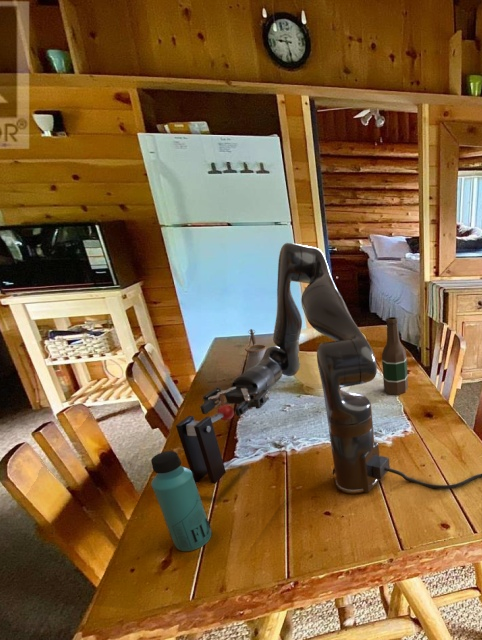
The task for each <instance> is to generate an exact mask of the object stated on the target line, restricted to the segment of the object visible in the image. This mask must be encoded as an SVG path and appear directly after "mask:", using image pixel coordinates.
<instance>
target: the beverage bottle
mask: <svg viewBox="0 0 482 640" xmlns="http://www.w3.org/2000/svg"><path fill="white" fill-rule="evenodd" d="M181 465H182V460H181V459H180V456H179V455H178V453H177V452H176V451H174V450H165V451H162V452H159V453H158V454H157V453H156V454H155V455H154V456H153V457H152V458H151V466H152V471H153V472H154V473H156V475H155V476H154V477H153V478H152V480H151V483H150V484H151V485H150V487H151V488H152V489H153V492H154V495H155V497H156V500H157V502H158V505H159V508H160V510H161V513H162V516H163V520H164V522H165V525H166V528H167V530H168V533H169V536H170V539H171V540H172V543H173V545H174V547H175V548H176V549H177V550H179V551H181V552H192V551H195V550H197V549H200V548H201V547H203V546H205V545H206V544H208V542H209V541H210V540H211V538H212V533H213V532H212V526H211V525H210V524H211V523H210V520H209V519H210V518H209V516H208V514H207V512H206V509H205V506H204V504H203V502H202V497H201V494H200V490H199V487H198V485H197V483H196V482H195V481H194V478H193V474H192V471H191V470H190V468H189V467H185V466H181Z"/></svg>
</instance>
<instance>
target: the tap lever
mask: <svg viewBox="0 0 482 640" xmlns="http://www.w3.org/2000/svg"><path fill="white" fill-rule="evenodd" d="M234 415H235V409H234V408H233V407H232V406H231V405H230V404H229V405H223V406H221V405H220V406H218V408H217V411H216V413H215V414H214V415H211V416H210V417H211V421H212V424H213V423H215V422H218V421H219V420H223V421H229V420H231V419H232V418H233V417H234ZM200 421H201V420H195V421H193V422H191V423H189V424H187V425H186V430H187V436H197V435H196V432H195V429H194V426H195V425H196V424H198V423H199V422H200Z"/></svg>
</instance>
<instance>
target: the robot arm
mask: <svg viewBox="0 0 482 640" xmlns="http://www.w3.org/2000/svg"><path fill="white" fill-rule="evenodd" d="M277 261H278V262H277V286H276V287H277V288H276V317H275V324H274V329H273V335H272V341H273V343H274V345H272V346H269V347H267V348H266V351H265V353H264V356H263V358H262V360H261V361H260V362H259V363H258V364H257V365H255V366H254V367H252V368H250V369H248V370H247V371H246V372H245V371H244V372H243V373H241V374H240V375H239V376H237V377H236V378H235V379H234V380H233V382H232V384H231V387H228V388H227V389H224V390H221V387H219V386H217V387H214V388H213V389H212V390H210V391H209V392H207V393H206V394H204V395H202V400H203V403H202V404H201V405H200V406H199V408H200V412H201V414H202V415H207V414H209V413H210V412H211V411H212V410H214V409H215V408H217V407H221V406H223V405H229V406H230V405H232V404H233V405H235V404H237V406H236V407H235V408H234V412H235V415H236V416H237V417H241V416H242V415H244V414H246V412H248V411H251V410H252V409H253V408H255V409H256V410H260V409H261V408H262V407H263V406H264V405H265V404H266V402H268V401H269V399H270V397H269V391H270V390H271V389H272V387H273V386H274V385H275V384H277V382H278V381H280V380H281V379H282V376H286V377H293V376H295V375H296V374H298V372H299V370H300V368H301V363H299V357H298V353H299V352H300V337H301V332H302V328H303V320H302V319H303V317H302V315H301V313H300V310H299V308H298V306H297V304H296V301H295V300H294V298H293V295H292V291H291V282H293V283H294V282H295V283H304V284H307V286H306V287H305V289H304V290H303V292H302V294H301V299H300V300H301V301H300V303H301V308H302V310H303V313H304V315H305V318H306V320H307V322H308V324H309V326H311V327H312V328H313V329H314V330H315V331H317V332H318V333H320V334H321V335H323V336H325V337H327V338H329V339H331V341H326V342H322V343H320V344H319V345H318V347H317V350H316V362H317V368H318V371H319V377H320V382H321V386H322V392H323V398H324V405H325V412H326V413H325V414H326V419H327V427H328V433H329V441H330V447H331V448H330V449H331V455H332V461H333V468H332V475H333V476H335V485H336V487H337V489H338V490H339V491H341V492H342V493H346V494H353V495H354V494H355V495H356V494H361V493H365V494H369V493H370V492H371V491H372V490H373V488H374V487H376V485H377V484H378V483H379V481H381V480H382V479H383V478H384V477H385V476H386V474H387V473H388V472H389V473H392V474H395V475H398V476H400V477H402V479H404V480H405V481H408V482H410V483H414V484H417V485H420V486H424V487H427V488H430V489H435V490H436V489H437V490H450V489H456V488H460V487H462V486H465V485H467V484H469V483H471V482H472V481H474V480H477V479H480V478H482V473H479V474H475V475H473V476H471V477H469V478H466V479H465V480H463V481H461V482H460V481H459V482H458V483H453V484H444V485H443V484H442V485H441V484H440V485H439V484H430V483H426V482H422V481H420V480H417V479H414V478H412V477H409V476H407V475H406V474H405V472H402V471H401V470H400V471H399V470H397V469H394V468H391V467H390V458H389V457H387V456H383V455H380V446H379V443H378V442H375V433H374V422H373V411H372V404H371V401H370V399H369V398H368V397H366V396H365V395H363V394H361V393H360V394H359V393H354V392H349V391H345V390H342V388H348V387H353V386H358V385H364V384H367V383H369V382H372V381H373V380H374V379H375V378H376V375H377V372H378V365H377V359H376V356H375V353H374V350H373V348H372V346H371V345H370V343H369V341H368V340H367V338H366V337H365V335H364V334H363V333H362V331H361V330H360V328H359V327H358V325H357V324H356V322H355V321H354V319H353V317H352V315H351V313H350V311H349V309H348V307H347V304H346V302H345V300H344V298H343V295H342V294H341V292H340V291H339V290H338V288H337V285H336V284H335V281H334V280H333V277H332V275H331V271H330V268H329V265H328V263H327V260H326V257H325V255H324V253H323V252H322V250H321V249H319V248H317V247H314V246H308V245H303V244H297V243H292V242H286V243H284V244H283V245H282V246H281V248H280V251H279V254H278V260H277ZM224 397H225V399H226V400H225V401H224ZM217 401H218V402H217Z"/></svg>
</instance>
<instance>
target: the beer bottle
mask: <svg viewBox="0 0 482 640" xmlns="http://www.w3.org/2000/svg"><path fill="white" fill-rule="evenodd" d="M385 323H386V344H385V346H384V347H383V350H382V353H381V364H382V378H383V389H384V392H385V393H387V394H389V395H391V396H394V395H395V396H399V395H402V394H405V393H407V390H408V388H409V381H408V379H409V378H408V377H409V376H408V359H407V358H408V357H407V351H406V349H405V346H403V345H402V343H401V340H400V332H399V324H398V323H399V318H398V317H395V316H389V317H387V318H386V320H385Z"/></svg>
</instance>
